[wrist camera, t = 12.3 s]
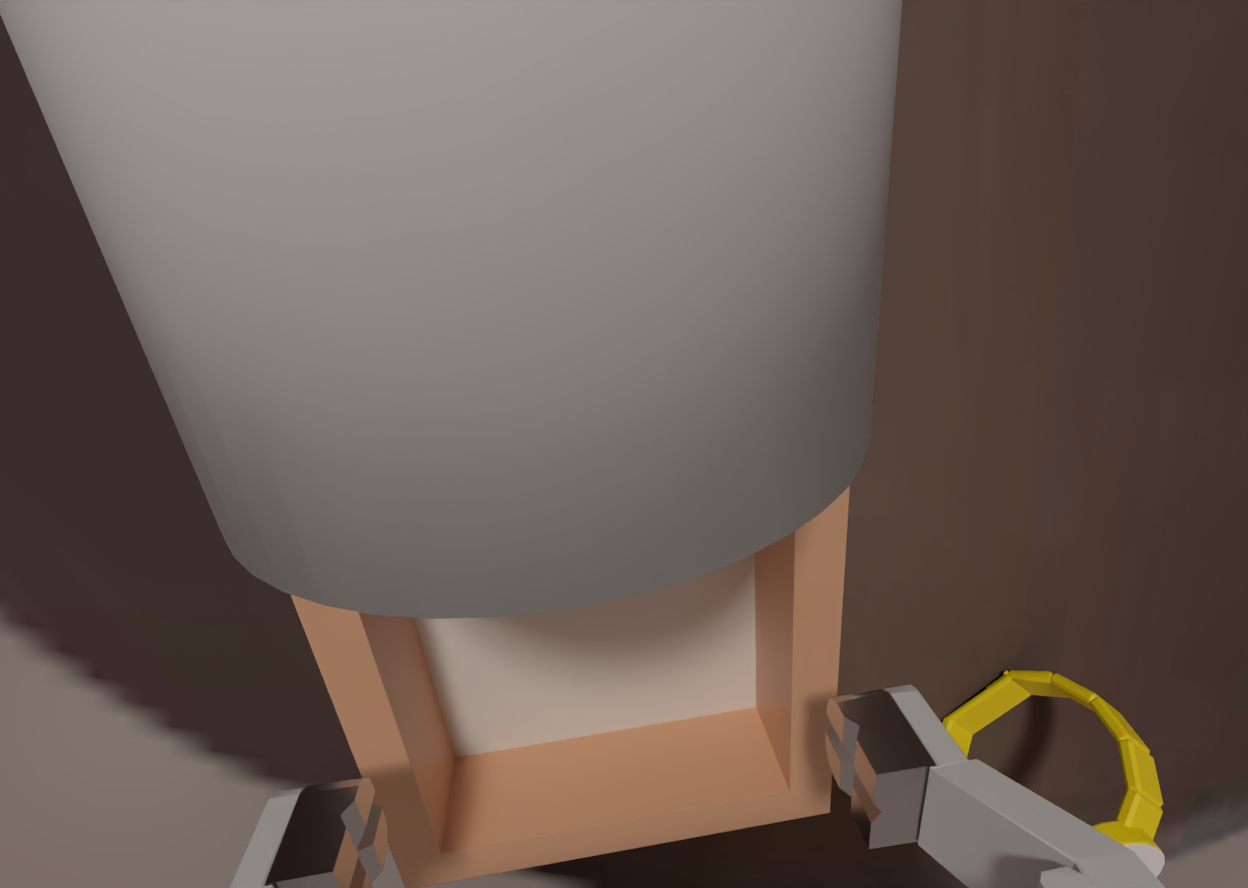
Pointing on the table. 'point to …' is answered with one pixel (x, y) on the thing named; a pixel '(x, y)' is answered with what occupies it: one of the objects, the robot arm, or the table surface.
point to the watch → (1138, 766)
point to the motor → (513, 373)
